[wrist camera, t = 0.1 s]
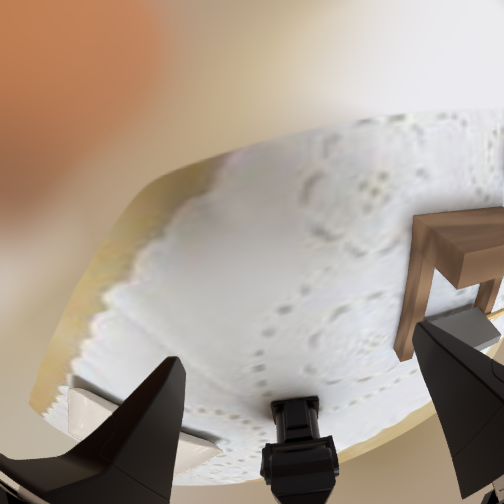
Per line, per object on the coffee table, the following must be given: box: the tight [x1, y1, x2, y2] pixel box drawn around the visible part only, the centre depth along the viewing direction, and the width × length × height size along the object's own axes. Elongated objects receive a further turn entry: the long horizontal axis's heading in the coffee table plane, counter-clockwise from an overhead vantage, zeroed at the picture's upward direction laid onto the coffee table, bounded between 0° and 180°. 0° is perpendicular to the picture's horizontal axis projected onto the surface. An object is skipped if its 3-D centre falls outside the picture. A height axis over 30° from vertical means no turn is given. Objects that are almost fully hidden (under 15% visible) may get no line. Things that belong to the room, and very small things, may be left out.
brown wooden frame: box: [394, 207, 504, 362], centre depth 21 cm, size 17×17×8 cm
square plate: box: [68, 388, 223, 477], centre depth 40 cm, size 27×27×4 cm
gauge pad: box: [430, 307, 504, 351], centre depth 23 cm, size 1×15×6 cm, turn 99°
